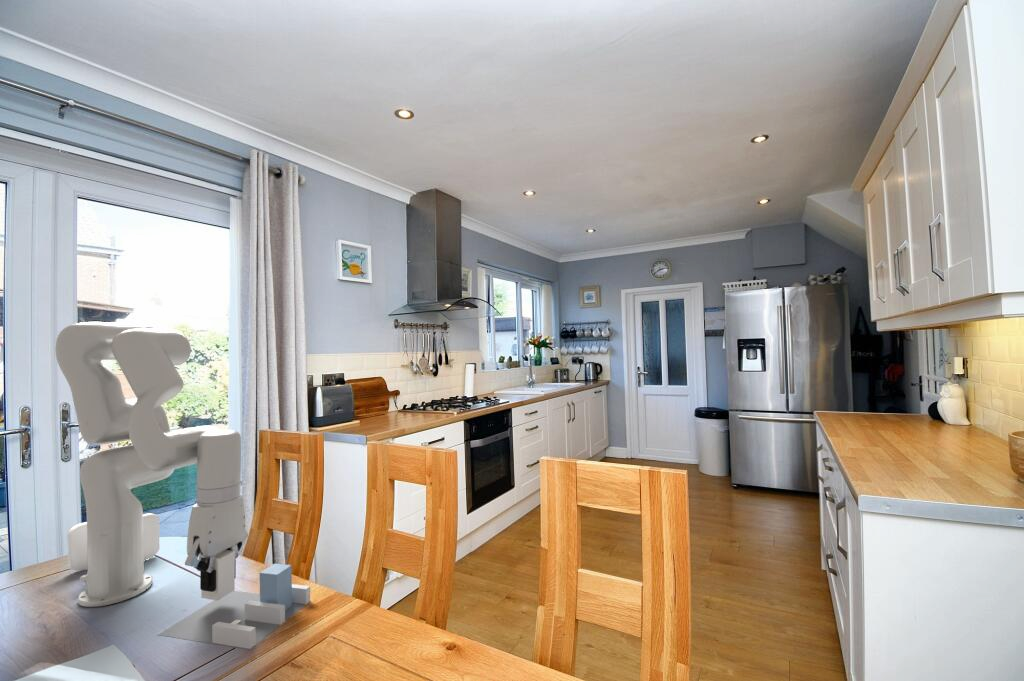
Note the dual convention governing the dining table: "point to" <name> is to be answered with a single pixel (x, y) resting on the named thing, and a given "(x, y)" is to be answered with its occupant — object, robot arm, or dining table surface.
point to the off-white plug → (222, 575)
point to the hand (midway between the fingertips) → (218, 583)
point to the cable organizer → (79, 542)
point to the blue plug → (276, 585)
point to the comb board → (237, 619)
